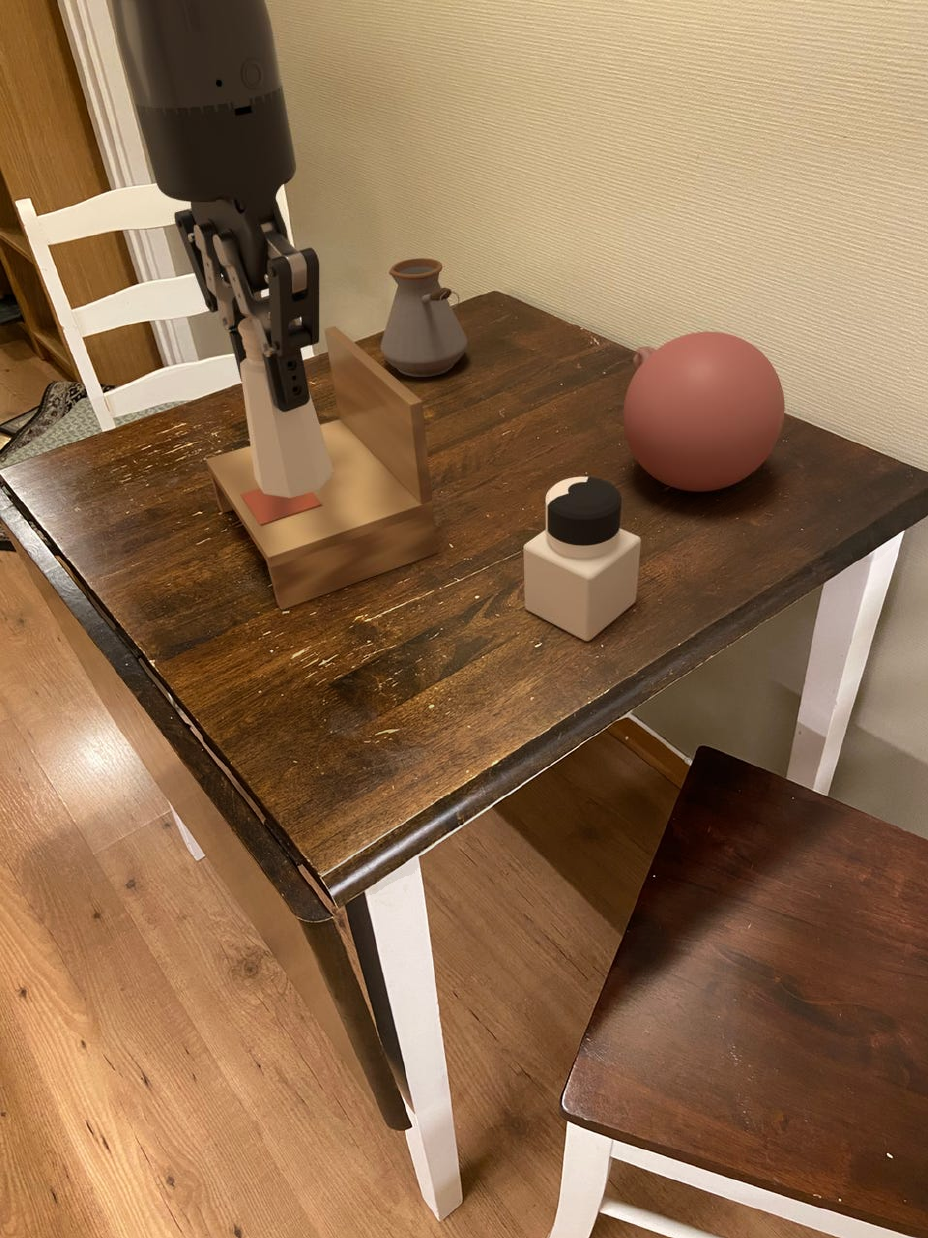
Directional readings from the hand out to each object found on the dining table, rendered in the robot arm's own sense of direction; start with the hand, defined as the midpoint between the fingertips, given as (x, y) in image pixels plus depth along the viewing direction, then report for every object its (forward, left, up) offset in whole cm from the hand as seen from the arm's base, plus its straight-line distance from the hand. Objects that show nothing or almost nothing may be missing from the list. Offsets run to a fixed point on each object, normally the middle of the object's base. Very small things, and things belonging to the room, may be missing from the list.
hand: (276, 393), depth 56 cm
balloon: (+44, +10, -26) cm, 52 cm away
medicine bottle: (+22, -3, -26) cm, 34 cm away
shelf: (+7, +21, -26) cm, 34 cm away
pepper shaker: (0, 0, -6) cm, 6 cm away
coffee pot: (+32, +45, -26) cm, 61 cm away
